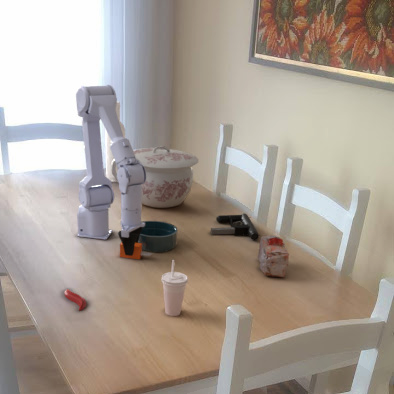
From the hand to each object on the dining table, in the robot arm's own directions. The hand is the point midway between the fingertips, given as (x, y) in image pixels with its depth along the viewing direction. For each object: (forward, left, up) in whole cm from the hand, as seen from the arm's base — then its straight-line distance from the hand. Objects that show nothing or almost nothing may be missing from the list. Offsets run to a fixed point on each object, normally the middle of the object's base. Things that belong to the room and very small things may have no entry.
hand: (130, 252), depth 170 cm
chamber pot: (-2, +53, -2) cm, 53 cm away
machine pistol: (+28, +32, -2) cm, 42 cm away
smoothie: (+18, -31, -2) cm, 36 cm away
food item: (+42, +3, -2) cm, 42 cm away
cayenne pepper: (-7, -31, -2) cm, 32 cm away
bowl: (+4, +12, -1) cm, 13 cm away
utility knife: (+2, 0, -1) cm, 2 cm away
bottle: (-26, +76, -2) cm, 80 cm away
